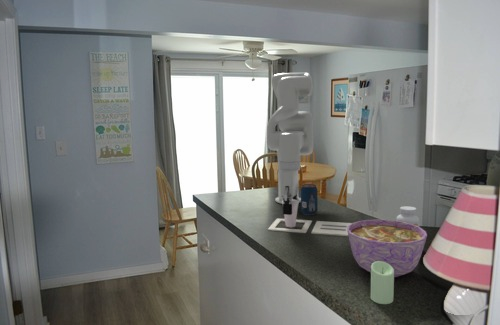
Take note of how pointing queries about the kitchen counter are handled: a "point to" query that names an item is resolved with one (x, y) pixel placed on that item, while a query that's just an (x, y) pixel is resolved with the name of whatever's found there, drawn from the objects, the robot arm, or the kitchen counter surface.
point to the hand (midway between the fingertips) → (290, 211)
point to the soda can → (309, 199)
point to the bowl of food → (387, 244)
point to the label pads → (315, 227)
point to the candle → (382, 282)
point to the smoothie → (291, 219)
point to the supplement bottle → (408, 215)
